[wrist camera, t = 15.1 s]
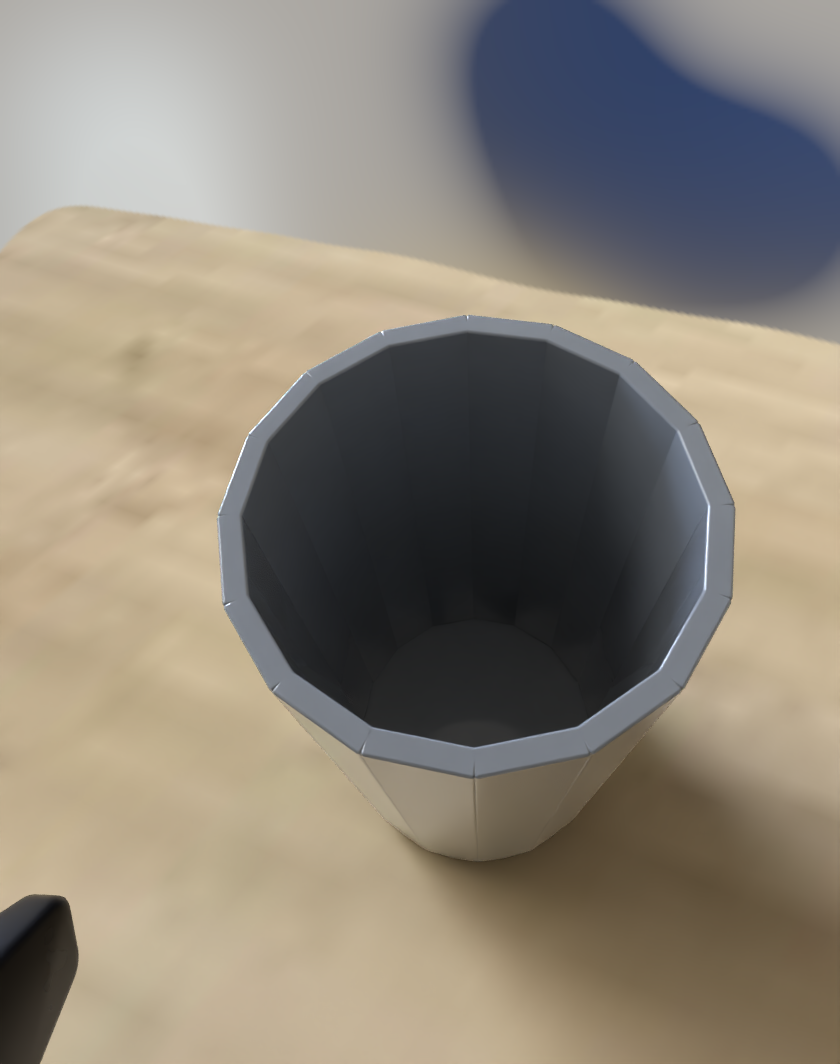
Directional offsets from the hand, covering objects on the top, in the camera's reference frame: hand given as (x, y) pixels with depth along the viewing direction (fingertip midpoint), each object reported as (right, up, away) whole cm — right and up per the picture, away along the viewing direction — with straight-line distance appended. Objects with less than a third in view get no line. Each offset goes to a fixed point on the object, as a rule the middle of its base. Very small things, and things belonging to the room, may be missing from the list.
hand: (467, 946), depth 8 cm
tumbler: (+1, -1, +13) cm, 13 cm away
